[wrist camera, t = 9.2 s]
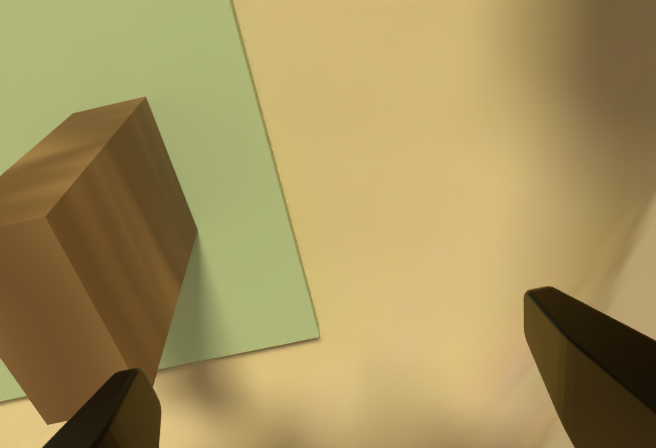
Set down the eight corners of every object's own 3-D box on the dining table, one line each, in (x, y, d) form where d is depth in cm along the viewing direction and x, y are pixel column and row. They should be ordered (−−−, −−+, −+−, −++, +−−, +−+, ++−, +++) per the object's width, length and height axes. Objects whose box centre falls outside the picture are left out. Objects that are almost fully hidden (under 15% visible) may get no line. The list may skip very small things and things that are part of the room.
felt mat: (192, -152, 14) (187, -156, 13) (318, 324, 22) (319, 337, 22) (-331, -31, 15) (-361, -29, 14) (-17, 392, 23) (-26, 406, 22)
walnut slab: (145, 96, 16) (45, 216, 10) (198, 230, 19) (147, 403, 12) (72, 113, 17) (-80, 245, 10) (133, 244, 19) (47, 424, 12)
